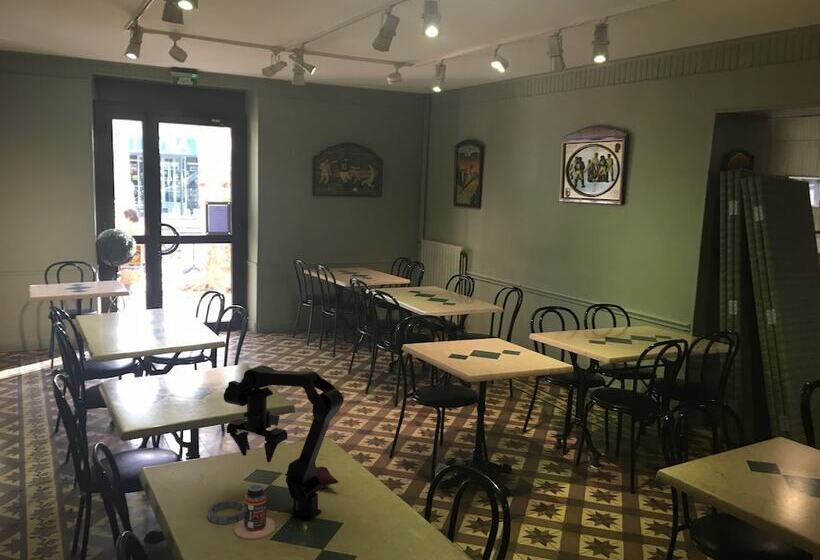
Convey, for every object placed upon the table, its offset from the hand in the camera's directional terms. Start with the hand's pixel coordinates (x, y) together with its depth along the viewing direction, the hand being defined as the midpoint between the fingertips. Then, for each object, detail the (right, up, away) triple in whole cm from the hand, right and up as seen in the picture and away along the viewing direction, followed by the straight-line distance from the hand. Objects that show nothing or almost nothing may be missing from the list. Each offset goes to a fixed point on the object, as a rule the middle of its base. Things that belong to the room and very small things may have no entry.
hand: (256, 458), depth 197 cm
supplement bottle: (+3, -15, -15) cm, 21 cm away
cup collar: (-7, -14, -8) cm, 17 cm away
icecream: (+17, -12, +12) cm, 24 cm away
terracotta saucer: (+3, -15, -15) cm, 22 cm away
